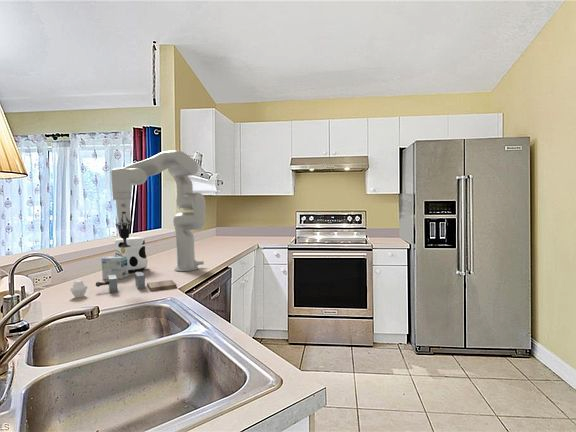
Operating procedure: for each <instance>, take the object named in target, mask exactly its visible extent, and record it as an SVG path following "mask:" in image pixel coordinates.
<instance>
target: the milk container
mask: <svg viewBox="0 0 576 432" xmlns="http://www.w3.org/2000/svg"><path fill="white" fill-rule="evenodd" d="M123 243H124V241H123V239H122V238H121V237H120V238H115V240H114V253H115V255H114V256H127V261H128V273H130V272H131V273H132V272H139V271H141V270H144V269H146V268H147V267H148V262H149V261H148V257H147V254H146V244H145V243H146V241H145V237H143V236H136V237H135V236H131V237H130V236H129V238H127V239H126V243H127V245H130V246H131V247H124V248H120V246H122V245H123Z"/></svg>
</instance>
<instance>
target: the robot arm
mask: <svg viewBox="0 0 576 432" xmlns="http://www.w3.org/2000/svg"><path fill="white" fill-rule="evenodd" d="M165 170H167V171H168V173H169V174H170V176H171V177H172V178H173V179H174V181H175V184H176V206H177V208H178V209H179V210H181V211H186V212H178V213H177V214H175V215H174V217H173V218H172V219H173V221H172V222H173V227H174V230H175V231H174V232H175V239H176V240H175V241H176V243H175V245H176V246H175V247H176V260H177V261H176V263H177V266H175V267H174V271H176V272H190V271H197V269H199V265H200V266H201V265H204V263H205V262H204V260H202V261H199V260H198V261H197V260H195V259H196V257H195V255H196V253H195V238H194V233H193V232H192V231H200V230H203V228H204V226H205V224H206V206H207V205H206V198H205V196H204V194H202V193H201V192H197V191H196V192H195V191H194V190H193V189H194V188H193V182H192V180H191V178H190V176H195V175H196V174H197V173H198V172H199V165H198V162H197V161H196V160H195V159H194V158H192V157H191V156H189V155H188V154H187V153H185V152H184V151H182V150H180V149H179V150H178V149H176V150H175V149H174V150H172V149H171V150H163V151H161V152H158V153H157V154H155V155H153V156H151V157H149V158H146V159H143V160H140V161H137V162H133V163H131V164H128V165H126V166H124V167H116V168H113V169H111V170H110V172H111V173H110V175H111V189H112V190H111V191H112V200H113V201H115V205H116V216H117V221H118V222H121V237H120V238H129V237H130V234H129V229H128V221H129V222H130V223H132V217H131V204H130V200H132V186H139V185H140V186H141V185H143V184H145V183H146V181H147V180H148V177H152V176H155V175H159V174H160V173H162V172H164V171H165ZM187 211H190V212H187ZM191 211H192V212H191ZM121 218H122V219H121ZM127 219H128V220H127ZM122 221H123V222H122ZM122 225H123V226H122ZM191 230H192V231H191Z"/></svg>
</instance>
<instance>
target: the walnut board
mask: <svg viewBox="0 0 576 432" xmlns="http://www.w3.org/2000/svg"><path fill="white" fill-rule="evenodd" d="M146 287H147V288H148V289H149V291H150V292H157V291H163V290H169V289H177V288H178V286H177V283H175V281H174V280H173V279H167V280H160V281H151V282H147V283H146Z"/></svg>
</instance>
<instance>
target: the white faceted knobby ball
mask: <svg viewBox="0 0 576 432" xmlns="http://www.w3.org/2000/svg"><path fill="white" fill-rule="evenodd" d="M69 290H70V291H71V294H72V295H73V297H74V298H75V299H76V298H83V297H84V296H85V294H86V292H87V290H88V286H87V285H86V284H85V283H84V281H83V280H79V279H78V280H75V281H74V282H73V284H72V286H71V287H70V289H69Z"/></svg>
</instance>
